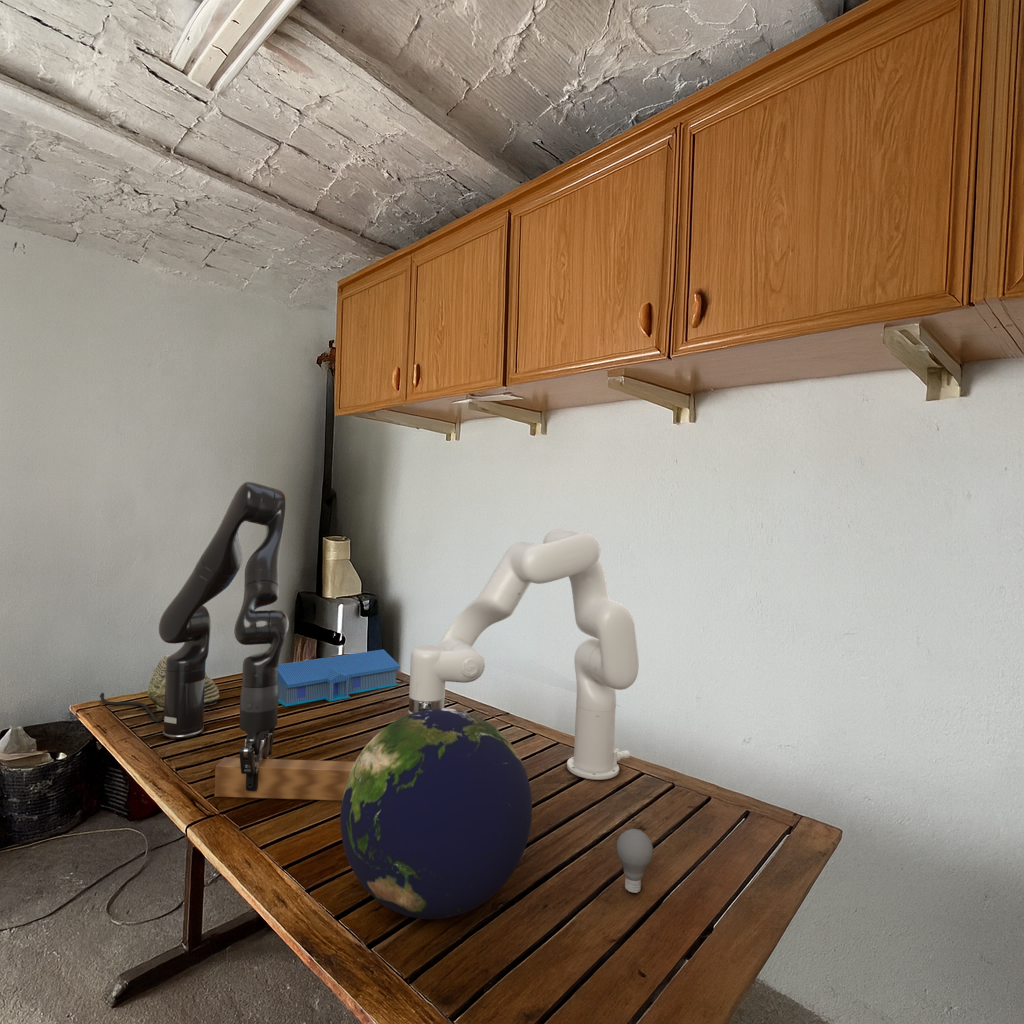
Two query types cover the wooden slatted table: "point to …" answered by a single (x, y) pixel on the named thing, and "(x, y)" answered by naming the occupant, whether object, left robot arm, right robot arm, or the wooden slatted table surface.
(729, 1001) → the wooden slatted table surface
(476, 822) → the globe
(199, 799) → the wooden slatted table surface
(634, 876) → the light bulb
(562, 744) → the wooden slatted table surface
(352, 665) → the model building
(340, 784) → the beam
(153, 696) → the fossil
